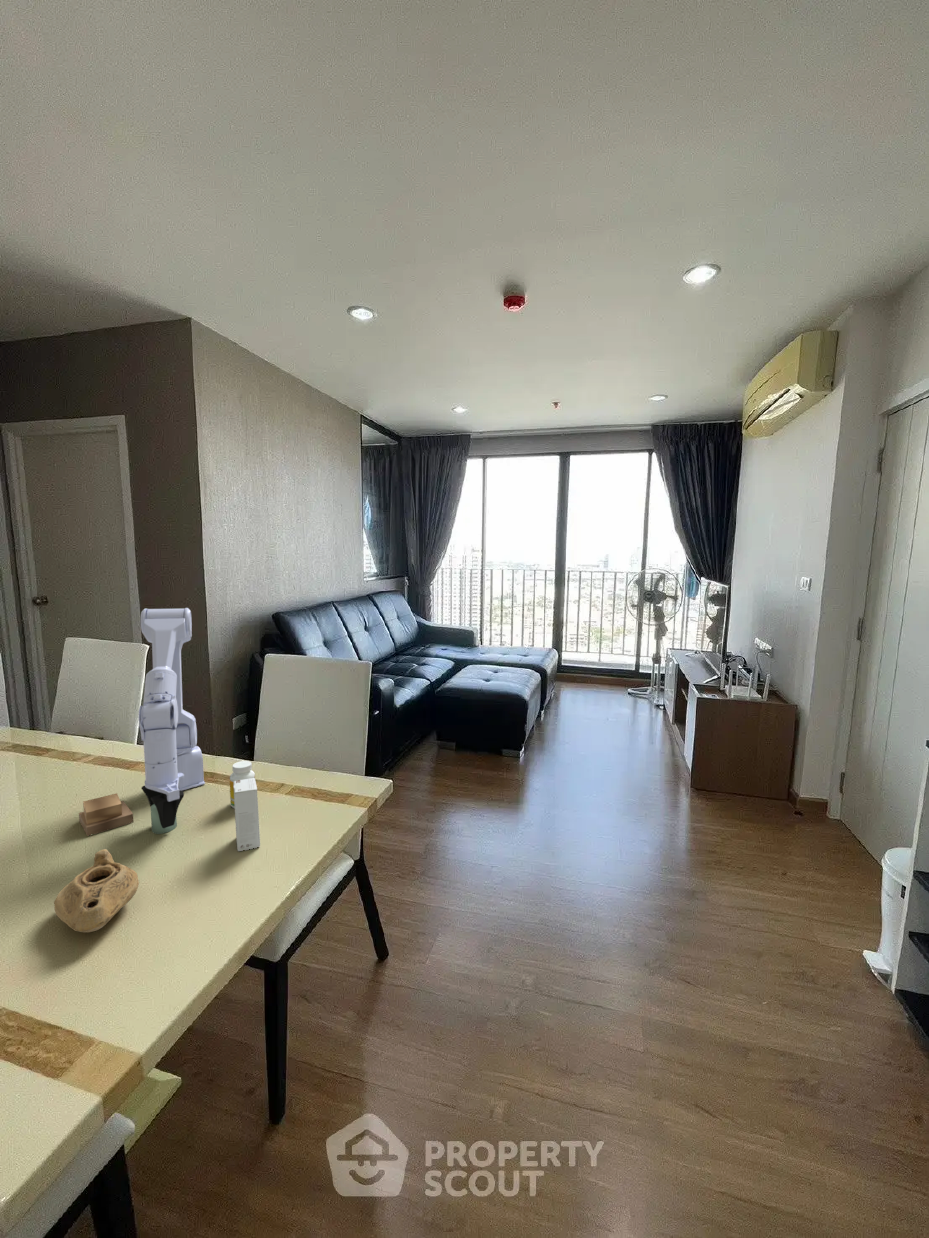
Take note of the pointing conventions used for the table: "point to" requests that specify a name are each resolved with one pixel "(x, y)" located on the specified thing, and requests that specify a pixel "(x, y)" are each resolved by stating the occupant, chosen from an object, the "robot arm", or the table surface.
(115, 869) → the oil lamp
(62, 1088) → the table surface
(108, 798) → the top block
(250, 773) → the supplement bottle
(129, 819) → the base block
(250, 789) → the skincare box
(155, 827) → the green cylinder
